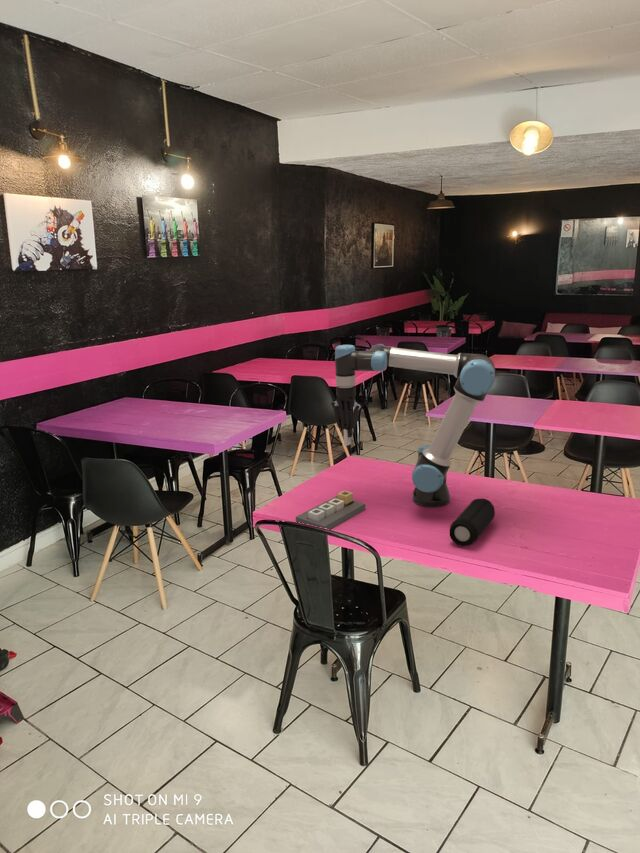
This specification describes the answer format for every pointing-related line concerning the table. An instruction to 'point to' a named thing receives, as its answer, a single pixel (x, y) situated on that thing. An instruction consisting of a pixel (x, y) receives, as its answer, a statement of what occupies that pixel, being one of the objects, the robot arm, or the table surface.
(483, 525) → the portable speaker
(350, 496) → the key
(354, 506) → the keypad
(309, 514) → the key
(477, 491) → the table surface
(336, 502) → the key
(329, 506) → the key
